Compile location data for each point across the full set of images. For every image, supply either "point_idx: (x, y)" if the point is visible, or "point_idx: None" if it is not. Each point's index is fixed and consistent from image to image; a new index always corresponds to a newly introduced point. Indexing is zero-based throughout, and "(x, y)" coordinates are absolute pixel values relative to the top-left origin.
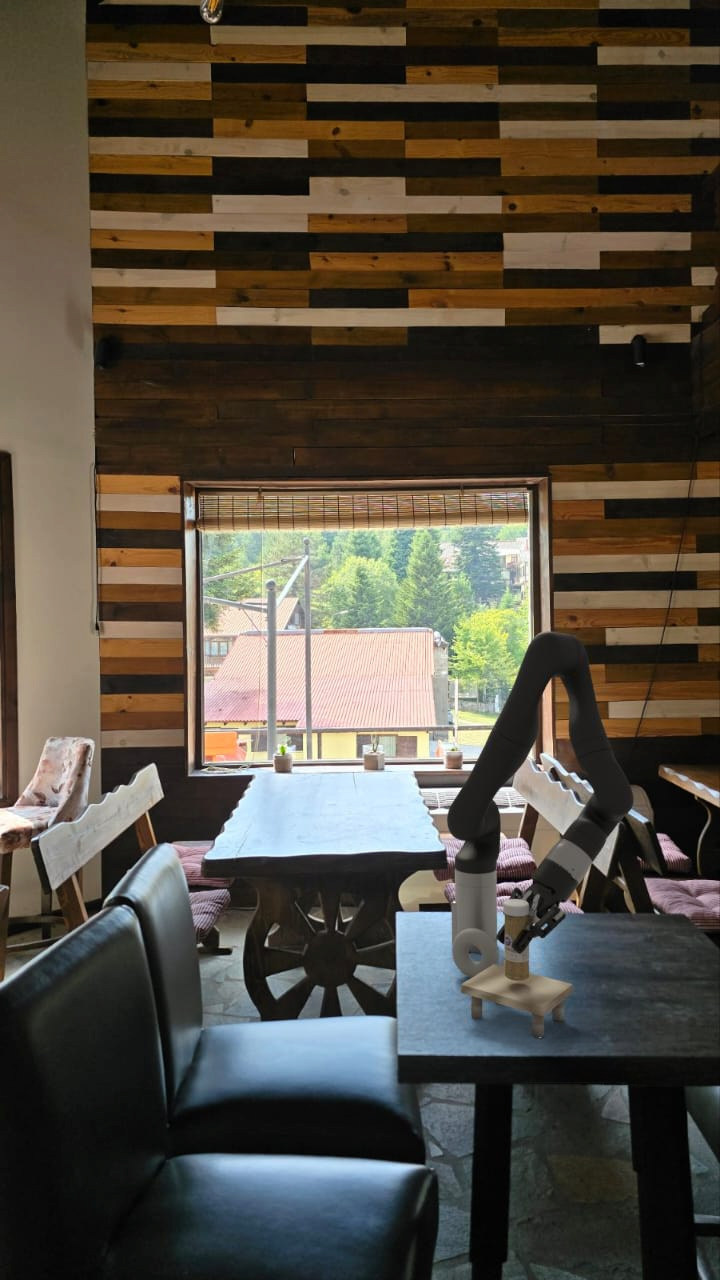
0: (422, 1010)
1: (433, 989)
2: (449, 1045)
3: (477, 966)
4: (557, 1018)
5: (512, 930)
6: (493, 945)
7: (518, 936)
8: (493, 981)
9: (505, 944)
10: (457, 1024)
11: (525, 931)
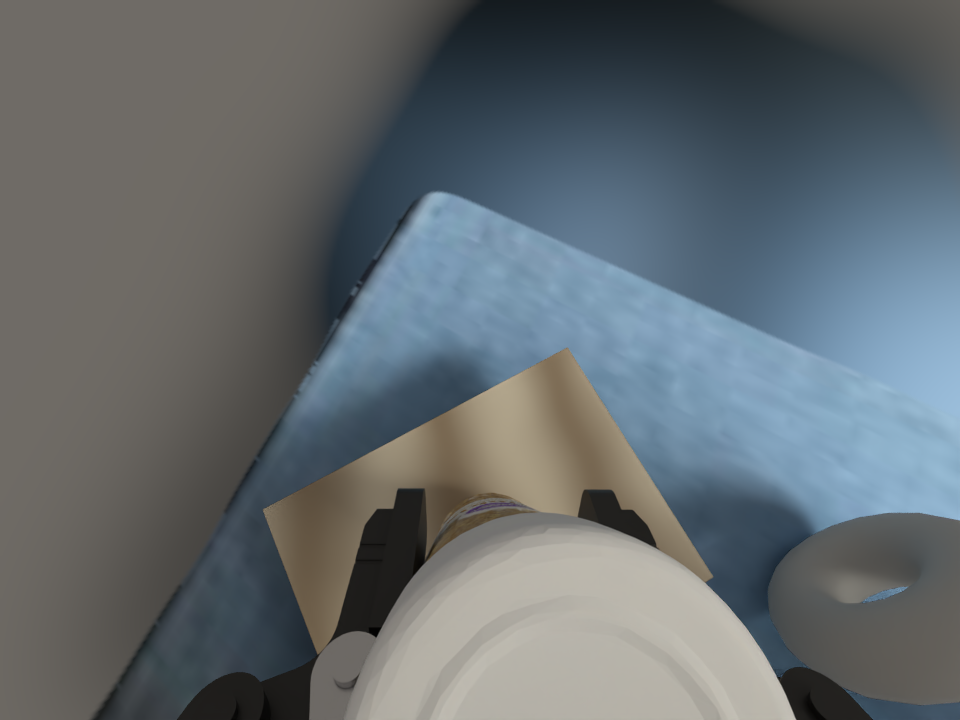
0: (624, 309)
1: (746, 399)
2: (425, 278)
3: (813, 574)
4: None
5: (454, 533)
6: (873, 673)
7: (405, 555)
8: (549, 470)
9: (519, 504)
10: (516, 348)
11: (368, 630)
